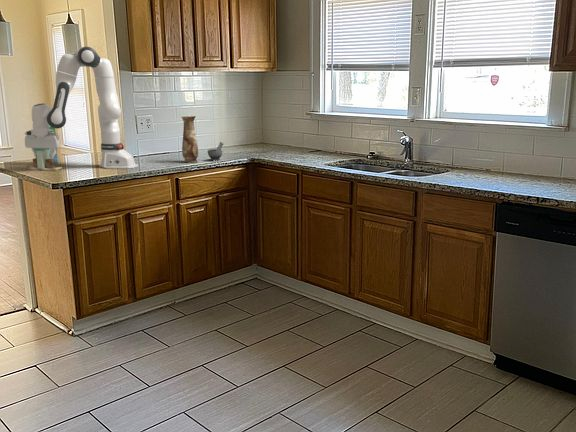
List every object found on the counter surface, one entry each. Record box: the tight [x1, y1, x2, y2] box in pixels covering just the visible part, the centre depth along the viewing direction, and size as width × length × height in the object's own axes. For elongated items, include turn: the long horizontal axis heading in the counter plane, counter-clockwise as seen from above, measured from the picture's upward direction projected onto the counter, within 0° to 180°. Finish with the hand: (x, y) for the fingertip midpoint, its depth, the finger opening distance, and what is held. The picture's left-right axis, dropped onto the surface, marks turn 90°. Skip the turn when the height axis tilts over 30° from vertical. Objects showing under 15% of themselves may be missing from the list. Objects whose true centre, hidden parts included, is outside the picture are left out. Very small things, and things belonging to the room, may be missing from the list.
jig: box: [26, 157, 63, 171], centre depth 334 cm, size 18×7×6 cm, turn 82°
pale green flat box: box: [36, 149, 50, 169], centre depth 333 cm, size 9×3×10 cm, turn 172°
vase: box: [180, 114, 199, 163], centre depth 368 cm, size 10×11×30 cm
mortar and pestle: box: [207, 141, 224, 161], centre depth 379 cm, size 11×9×12 cm
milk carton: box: [35, 125, 59, 164], centre depth 352 cm, size 9×9×25 cm
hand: (43, 155), depth 333 cm, fingers open, 8 cm apart
